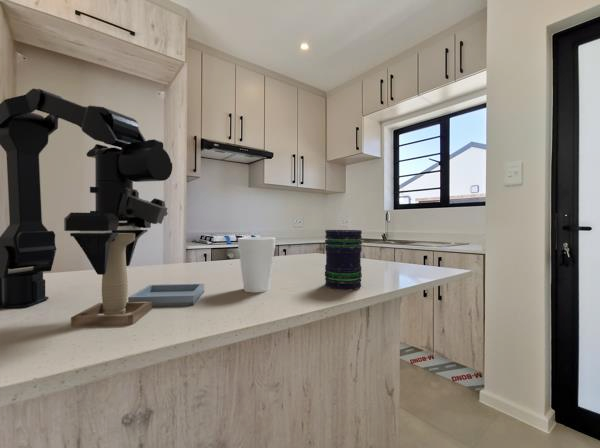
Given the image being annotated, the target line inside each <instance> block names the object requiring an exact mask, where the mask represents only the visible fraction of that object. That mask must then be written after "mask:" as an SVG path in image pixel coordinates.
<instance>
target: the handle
mask: <svg viewBox="0 0 600 448" xmlns="http://www.w3.org/2000/svg"><path fill="white" fill-rule="evenodd" d="M134 240H135V233H119V234H118V235H117V236H116V237H115V238H114V239H113V240H112V241H111V242H110V246H109V254H108V262H107V268H106V273H105V274H104V275H101V276H102V277H101V278H102V279H101V297H102V298H101V300H102V302H101V303H103V307H104V309H105V312H103V315H116V314H126V312H127V311H126V308H125V306H126V303H127V302H128V294H129V293H128V290H129V289H128V285H129V284H128V283H129V281H128V273H127V272H128V270H127V266H126V246H127V245H128V244H130V243H131V242H133V241H134Z"/></svg>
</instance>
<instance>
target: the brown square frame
mask: <svg viewBox="0 0 600 448" xmlns="http://www.w3.org/2000/svg"><path fill="white" fill-rule="evenodd" d="M125 308H126V311H125V312H131V313H127V314H126V313H125V314H116V315H104V314H100V313H102V312H103V313H104V312H105V309H104V307H103V302H98V303H96V304H94V305H92V306H90V307H88V308H86V309H85V310H83V311H81V312H79V313H76V314H75V315H73V316H71V317H70V327H89V326H90V327H93V326H96V327H97V326H116V325H117V326H119V325H121V326H122V325H125V326H126V325H134V324H136V323H137V322H138V321H139V320H140V319H142V318H143V317H144V316H145V315H146V314H147V313H149V312H150V311H152V309H153V306H152V302H128V301H127V303H126V306H125Z"/></svg>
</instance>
